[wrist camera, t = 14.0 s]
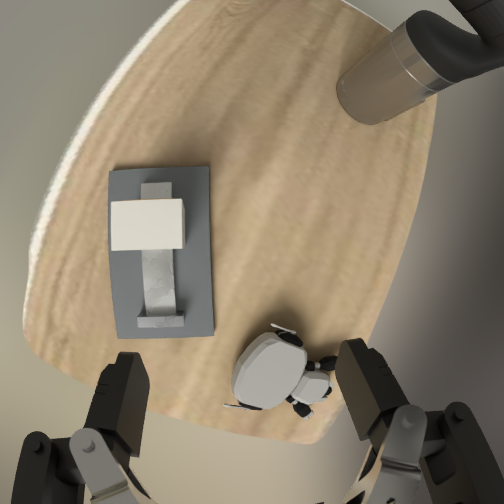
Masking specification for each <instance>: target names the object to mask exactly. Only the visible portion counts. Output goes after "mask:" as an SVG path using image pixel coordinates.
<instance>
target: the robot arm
mask: <svg viewBox="0 0 504 504" xmlns="http://www.w3.org/2000/svg"><path fill="white" fill-rule="evenodd" d="M449 1H450V2H451V3H452V5H454V7H455V8H456V9H457V10H458V11H459V12H460V13H461V14H462V16H463V17H464V18H465V19H466V20H467V21H468V22H469V23H470V25H471V26H472V27H473V28H474V30H475V31H476V32H477V33H478V35H475V34H471V33H469V32H467V31H464V30H462V29H460V28H459V27H457V26H455V25H453V24H452V23H450V22H449V21H447V20H446V19H444V18H442V17H441V16H439V15H437V14H435V13H433V12H430V11H427V10H422V11H418V12H416V13H415V14H413V15H412V16H411V17H410V18H408V19H407V20H406V21H405V22H403V23H402V24H401V25H400V26H399V27H397V28H396V29H395V30H394V31H393V32H392V33H390V34H389V35H388V36H387V37H386V38H385V39H383V40H382V41H381V42H380V43H379V44H378V45H376V46H375V47H374V48H373V49H372V50H371V51H370V52H369V53H367V54H366V55H365V56H364V57H363V58H362V59H361V60H360V61H359V62H357V63H356V64H355V65H354V66H353V67H352V68H351V69H350V70H349V71H348V72H347V73H346V74H345V75H344V76H342V77H341V78H340V79H339V81H338V83H337V95H338V98H339V101H340V103H341V105H342V106H343V108H344V109H345V110H346V111H347V113H348V114H349V115H351V116H352V117H353V118H354V119H356V120H357V121H359V122H361V123H364V124H368V125H374V124H377V123H379V122H381V121H383V120H384V121H388V120H390V119H392V118H393V117H395V116H397V115H399V114H401V113H403V112H405V111H407V110H409V109H411V108H413V107H415V106H417V105H419V104H421V103H423V102H424V101H425V98H427V97H429V96H431V95H433V94H435V93H437V92H439V91H441V90H443V89H445V88H447V87H449V86H451V85H454V84H455V83H458V82H460V81H462V80H465V79H468V78H472V77H475V76H478V75H481V74H483V73H485V72H488V71H490V70H493V69H496V68H499V67H502V66H504V0H449ZM335 376H336V379H337V382H338V384H339V387H340V389H341V392H342V394H343V397H344V399H345V402H346V405H347V407H348V410H349V412H350V415H351V417H352V420H353V422H354V425H355V428H356V430H357V433H358V436H359V439H360V441H363V440H366V439H370V441H371V445H370V448H369V450H368V453H367V455H366V458H365V460H364V463H363V465H362V467H361V470H360V472H359V474H358V477H357V479H356V481H355V483H354V485H353V486H352V488H351V489H350V490H349V492H348V494H347V495H346V497H345V499H344V500H343V502H342V504H412V503H413V501H414V498H415V494H416V491H417V488H418V485H419V482H420V478H421V471H420V470H419V469H418V468H417V466H418V462H419V464H420V467H421V470H422V473H423V475H424V478H425V481H426V484H427V487H428V490H429V493H430V496H431V499H432V502H433V504H504V479H503V476H502V474H501V471H500V469H499V467H498V464H497V462H496V460H495V458H494V455H493V453H492V451H491V449H490V447H489V445H488V443H487V441H486V439H485V436H484V435H483V432H482V430H481V429H480V427H479V425H478V423H477V421H476V419H475V417H474V415H473V413H472V411H471V410H470V408H469V407H468V406H467V405H466V404H464V403H462V402H453V403H451V404H449V405H448V406H447V407H446V409H445V410H444V411H430V412H424V411H423V410H422V409H421V408H420V407H418V406H415V405H411V404H410V403H409V402H408V400H407V398H406V396H405V395H404V393H403V391H402V389H401V387H400V386H399V384H398V382H397V380H396V378H395V377H394V375H392V371H391V370H390V368H389V367H388V364H387V363H386V361H385V359H384V358H383V356H382V355H381V354H380V353H378V352H377V351H376V350H375V349H374V348H371V349H368V348H367V346H366V344H365V342H364V341H363V339H362V338H356V339H350V340H344V341H343V342H342V343H341V347H340V350H339V354H338V357H337V361H336V364H335ZM149 389H150V383H149V377H148V374H147V372H146V369H145V367H144V364H143V362H142V359H141V356H140V354H139V353H138V352H120V353H119V354H118V356H117V359H116V362H115V364H108V365H107V367H106V368H105V369H104V370H103V371H102V372H101V375H100V378H99V381H98V386H97V387H96V390H95V394H94V396H93V399H92V402H91V406H90V409H89V412H88V415H87V419H86V423H85V425H84V427H83V429H80V430H78V431H76V432H75V433H74V434H73V435H72V437H69V438H57V439H50V438H49V437H48V436H47V435H46V434H44V433H42V432H39V431H35V432H32V433H30V434H28V435H27V437H26V438H25V440H24V443H23V446H22V450H21V454H20V458H19V462H18V466H17V471H16V476H15V481H14V487H13V492H12V499H11V504H83V502H84V491H85V484H87V486H88V488H89V490H90V492H91V494H92V498H91V499H90V501H91V504H157V503H156V502H155V500H154V499H153V498H152V497H151V495H150V494H149V493H148V491H147V490H146V489H145V487H144V486H143V485H142V483H141V482H140V480H139V479H138V477H137V476H136V474H135V473H134V471H133V470H132V468H131V467H130V466H129V461H130V456H132V457H139V454H140V446H141V439H142V431H143V425H144V419H145V412H146V407H147V401H148V395H149ZM317 504H324V502H322V503H317Z"/></svg>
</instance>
